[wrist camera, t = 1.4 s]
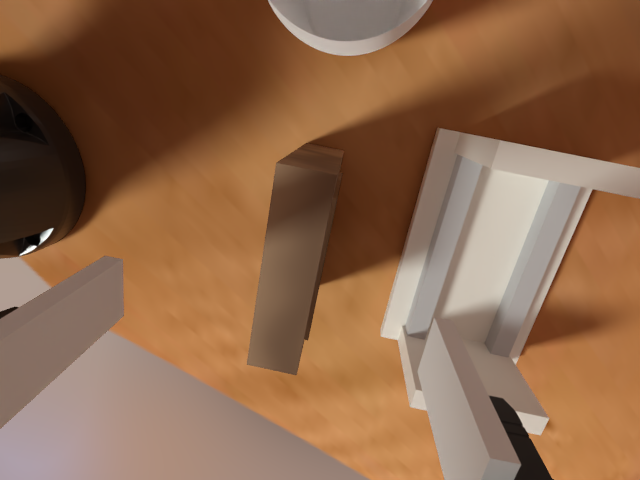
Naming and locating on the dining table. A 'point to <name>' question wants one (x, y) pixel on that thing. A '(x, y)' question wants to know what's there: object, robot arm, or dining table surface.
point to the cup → (349, 22)
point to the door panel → (294, 255)
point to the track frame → (490, 253)
